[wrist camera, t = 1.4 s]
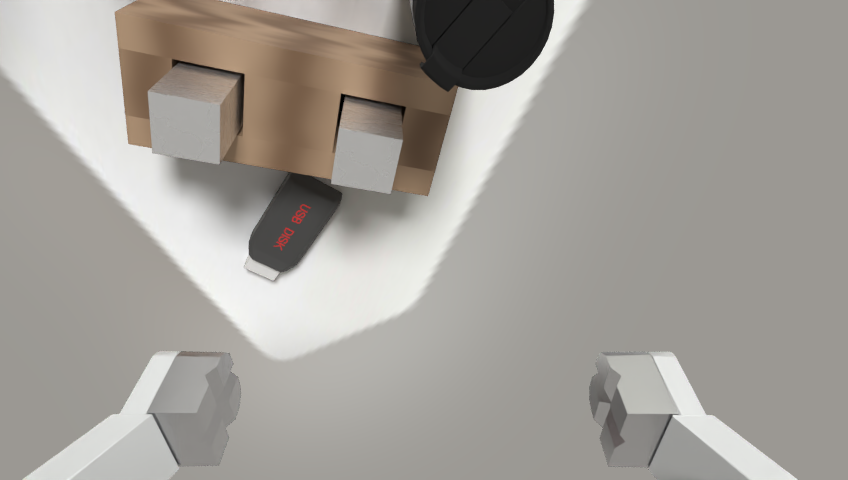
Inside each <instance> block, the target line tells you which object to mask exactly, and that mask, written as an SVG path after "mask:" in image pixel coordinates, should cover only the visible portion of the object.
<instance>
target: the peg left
mask: <svg viewBox="0 0 848 480" xmlns="http://www.w3.org/2000/svg"><path fill="white" fill-rule="evenodd" d="M244 82H245V74H243V73H239V72H234V71H229V70H224V69H219V68H214V67H209V66H204V65H199V64H194V63H190V62H185V61H180V62H179V63H178V64H177V65H175V66H174V67H173V68H172V69H171V70H170V71H169V72H168V73H167V74H166V75H165V76H164V77H162V78H161V79H160V80H159V81H158V82H157V83H156V84H155V85H154V86H153V87H152V88H151V89H149V90H148V102H149V116H150V129H151V142H152V153H155V154H160V155H166V156H172V157H178V158H184V159H189V160H195V161H201V162H207V163H213V164H218V165H220V163H221V162H222V160H223V158H224V156H225V155H226V153H227V151H228V149H229V148H230V146H231V144H232V142H233V141H234V139H235V137H236V135H237V134H238V132H239V130H240V128H241V127H242V125H243V111H244Z"/></svg>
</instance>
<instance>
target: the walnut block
mask: <svg viewBox="0 0 848 480" xmlns="http://www.w3.org/2000/svg"><path fill="white" fill-rule="evenodd" d="M115 19H116V28H117V38H118V48H119V57H120V67H121V77H122V86H123V96H124V106H125V115H126V125H127V135H128V144H132V145H138V146H143V147H149V148H152V142H151V129H150V116H149V102H148V90H149V89H151V88H152V87H153V86H154V85H155V84H156V83H157V82H158V81H159V80H160V79H161V78H162V77H164V76H165V75H166V74H167V73H168V72H169V71H170V70H171V69H172V68H173V67H174V66H175V65H177V64H178V63H179V62H180V61H185V62H190V63H194V64H199V65H204V66H209V67H214V68H219V69H224V70H229V71H234V72H239V73H243V74H245V82H244V111H243V125H242V127H241V128H240V130H239V132H238V134H237V135H236V137H235V139H234V141H233V142H232V144H231V146H230V148H229V149H228V151H227V153H226V155H225V156H224V158H223V160H224V161H229V162H235V163H241V164H247V165H252V166H258V167H264V168H270V169H275V170H281V171H287V172H293V173H298V174H304V175H310V176H316V177H321V178H327V179H332V172H333V166H334V159H335V152H336V145H337V138H338V132H339V126H340V120H341V115H342V112H341V105H342V99H343V94H346V95H351V96H356V97H361V98H366V99H371V100H376V101H381V102H386V103H390V104H395V105H400V106H401V113H402V132H403V142H402V146H401V151H400V155H399V160H398V164H397V169H396V173H395V177H394V182H393V186H392V190H396V191H402V192H408V193H413V194H419V195H425V196H428V194H429V191H430V187H431V184H432V180H433V176H434V173H435V169H436V165H437V162H438V158H439V155H440V151H441V147H442V144H443V140H444V136H445V133H446V129H447V125H448V122H449V118H450V115H451V111H452V107H453V104H454V100H455V96H456V93H457V89H458V86H456V85H455V86H454V87H453V88H452V89H451V90H450V91H449V92H447V91H445V90H444V89H442V88H441V87H439V86H438V85H437V84H436V83H435V82H433V81H432V80H431V79H430V78H429V77H428V76H427V75H426V74H425V73H424V72H423V71H422V69H421V68H420V63H421V62H423V63H425V62H426V60H425V58H424V56H423V53H422V51H421V49H420V46H417V45H413V44H408V43H404V42H399V41H395V40H390V39H386V38H382V37H377V36H373V35H368V34H364V33H360V32H355V31H351V30H346V29H342V28H337V27H333V26H329V25H324V24H320V23H315V22H311V21H307V20H302V19H298V18H293V17H289V16H284V15H280V14H276V13H271V12H267V11H262V10H258V9H254V8H249V7H245V6H240V5H236V4H232V3H227V2H223V1H218V0H137V1H135V2H133V3H131V4H129V5H127V6H125V7H123V8H122V9H120V10H118V11H116V12H115Z"/></svg>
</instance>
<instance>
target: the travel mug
mask: <svg viewBox="0 0 848 480" xmlns="http://www.w3.org/2000/svg"><path fill="white" fill-rule="evenodd" d="M410 6H411V12H412V19H413V24H414V27H415V30H416V36H417V41H418V43H419V46H420V49H421V51H422V53H423V56H424V58H425V60H426V62H425V63H423V62H421V63H420V68H421V69H422V71H423V72H424V73H425V74H426V75H427V76H428V77H429V78H430V79H431V80H432V81H433V82H435V83H436V84H437V85H438V86H439V87H441V88H442V89H444V90H445V91H447V92H449V91H450V90H451V89H452V88H453V87H454V86H455V85H456V86H459V87H462V88H466V89H471V90H486V89H491V88H496V87H499V86H502V85H504V84H507V83H509V82H511V81H512V80H514V79H516V78H517V77H519V76H520V75H522V74H523V73H524V72H525V71H526V70H527V69H528V68H529V67H530V66H531V65H532V64H533V63H534V61H535V60H536V59H537V58H538V56H539V55H540V53H541V52H542V50H543V48H544V46H545V44H546V42H547V40H548V37H549V34H550V31H551V28H552V22H553V16H554V0H410Z"/></svg>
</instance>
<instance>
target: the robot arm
mask: <svg viewBox="0 0 848 480" xmlns="http://www.w3.org/2000/svg"><path fill="white" fill-rule="evenodd" d="M232 366H233V361H232V359H231V356H230V354H229V353H224V352H222V353H221V352H186V351H181V352H174V351H158V352H157V353H156V354H155V355H153V356H152V357H151V359H150V361H149V363H148V364H147V366H146V368H145V370H144V371H143V373H142V375H141V377H140V378H139V380H138V382H137V384H136V385H135V387H134V389H133V391H132V392H131V394H130V396H129V398H128V399H127V401H126V403H125V405H124V406H123V408H122V410H121V412H120V413H119V414H112V415H110V416H109V417H108V418H106V419H105V420H103V421H102V422H101V423H99V424H98V425H97V426H95V427H94V428H92V429H91V430H90V431H88V432H87V433H86V434H84V435H83V436H82V437H80V438H79V439H77V440H76V441H75V442H73V443H72V444H71V445H69V446H68V447H66V448H65V449H63V450H62V451H61V452H59V453H58V454H57V455H55V456H54V457H52V458H51V459H50V460H48V461H47V462H46V463H44V464H43V465H42V466H40V467H39V468H37V469H36V470H35V471H33V472H32V473H30V474H29V475H28V476H26V477H25V478H24V479H22V480H169V479H170V478H171V477H172V476H173V475H174V474H175V473H176V472H177V471H178V470H179V466H209V465H210V466H213V465H219V464H220V461H221V458H222V455H223V453H224V450H225V447H226V444H227V442H228V439H229V436H228V434H227V431H226V427H227V426H228V425H229V424H230V423H232V422H233V421H234V420H235V419H236V416H237V413H238V409H239V406H240V398H241V388H240V382H239V379H238V377H237V376H236V375H235V374H233V373H232V372H231V368H232ZM596 367H597V370H598V373H597V374H596V375H594V376H593V377H592V379H591V383H590V387H589V400H590V406H591V411H592V414H593V418H594V420H595V421H596V422H597V423H598V424H599V425H600V426H601V427H602V428H603V429H602V432H601V435H600V441H601V445H602V448H603V451H604V454H605V457H606V460H607V464H608V466H610V467H645V468H646V467H647V468H649V469H648V470H649V471H650V472H651V473H652V474H653V475H654V477H655V478H656V479H657V480H797V479H796V478H795V477H793V476H792V475H791V474H790V473H788V472H787V471H786V470H784V469H783V468H782V467H780V466H779V465H778V464H776V463H775V462H774V461H772V460H771V459H770V458H769V457H767V456H766V455H765V454H763V453H762V452H761V451H759V450H758V449H757V448H755V447H754V446H753V445H752V444H750V443H749V442H748V441H746V440H745V439H744V438H742V437H741V436H740V435H738V434H737V433H736V432H735V431H733V430H732V429H731V428H729V427H728V426H726V425H725V424H724V423H723V422H721V421H720V420H719V419H717V418H716V417H715V416H713V415H706V414H705V412H704V410H703V408H702V406H701V404H700V402H699V400H698V398H697V396H696V395H695V393H694V391H693V389H692V387H691V385H690V383H689V381H688V379H687V377H686V375H685V373H684V372H683V370H682V368H681V366H680V364H679V362H678V360H677V358H676V356H675V355H674V354H672V353H671V352H601V353H600V354H599V355H598V358H597V361H596Z"/></svg>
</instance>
